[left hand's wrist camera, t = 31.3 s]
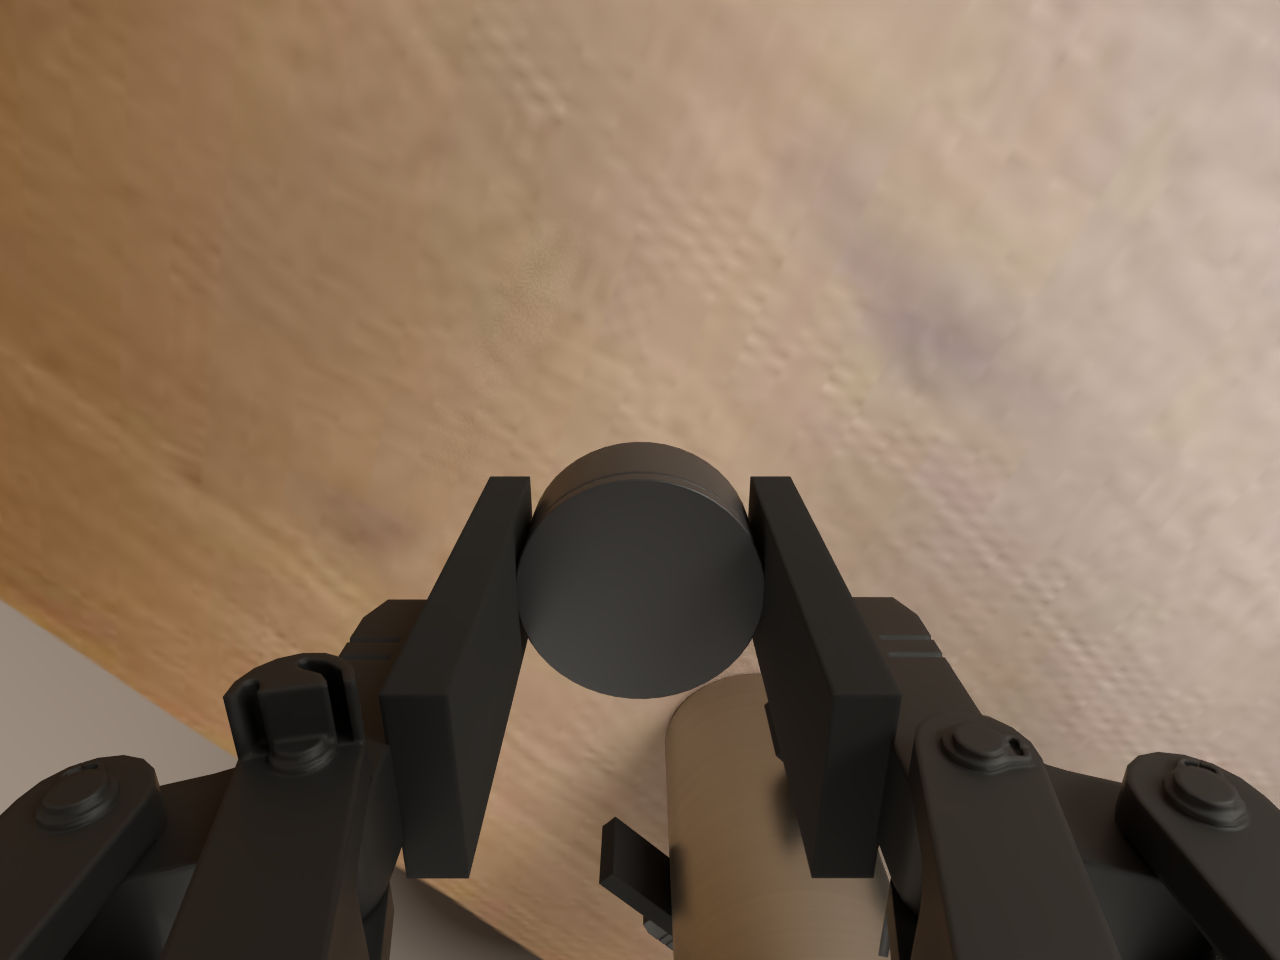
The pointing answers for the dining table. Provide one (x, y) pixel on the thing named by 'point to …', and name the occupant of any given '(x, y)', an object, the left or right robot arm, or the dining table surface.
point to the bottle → (751, 845)
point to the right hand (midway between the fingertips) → (689, 789)
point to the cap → (640, 572)
